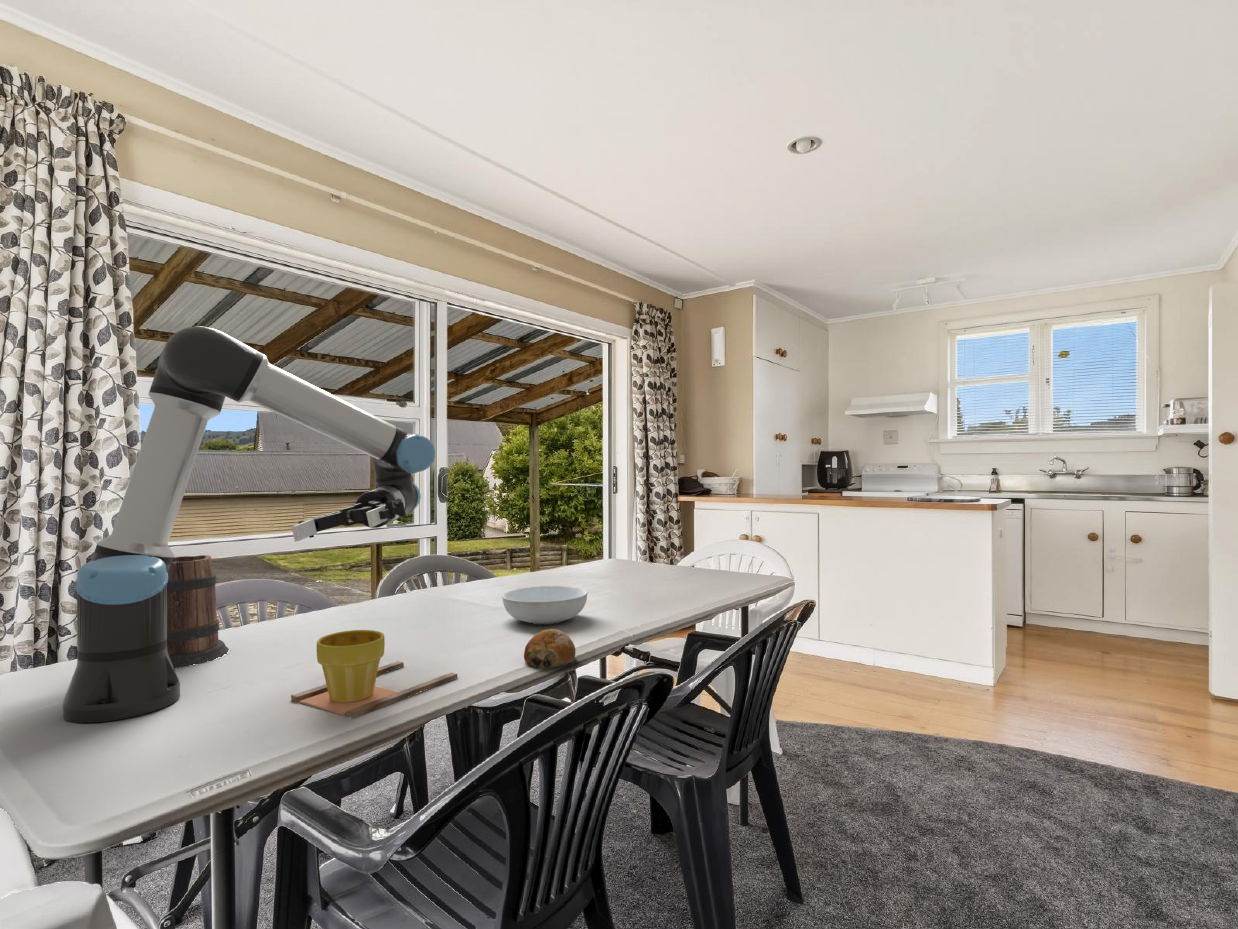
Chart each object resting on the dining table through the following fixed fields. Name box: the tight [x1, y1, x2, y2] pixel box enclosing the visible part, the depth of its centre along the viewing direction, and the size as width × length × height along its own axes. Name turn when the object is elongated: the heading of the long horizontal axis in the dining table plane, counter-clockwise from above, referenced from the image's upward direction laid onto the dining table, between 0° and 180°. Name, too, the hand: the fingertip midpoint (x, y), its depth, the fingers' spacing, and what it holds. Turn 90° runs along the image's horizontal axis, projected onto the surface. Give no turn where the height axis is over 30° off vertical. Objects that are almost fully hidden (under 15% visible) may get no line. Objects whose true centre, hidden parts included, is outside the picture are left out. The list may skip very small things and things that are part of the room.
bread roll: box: [523, 628, 576, 669], centre depth 131 cm, size 10×10×8 cm
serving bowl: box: [501, 585, 588, 625], centre depth 165 cm, size 21×21×7 cm
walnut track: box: [290, 660, 459, 719], centre depth 115 cm, size 22×16×1 cm
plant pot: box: [316, 629, 386, 703], centre depth 110 cm, size 10×10×10 cm
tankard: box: [167, 554, 230, 669], centre depth 138 cm, size 24×17×20 cm
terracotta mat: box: [299, 685, 398, 716], centre depth 110 cm, size 11×11×1 cm
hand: (332, 526), depth 117 cm, fingers open, 13 cm apart
